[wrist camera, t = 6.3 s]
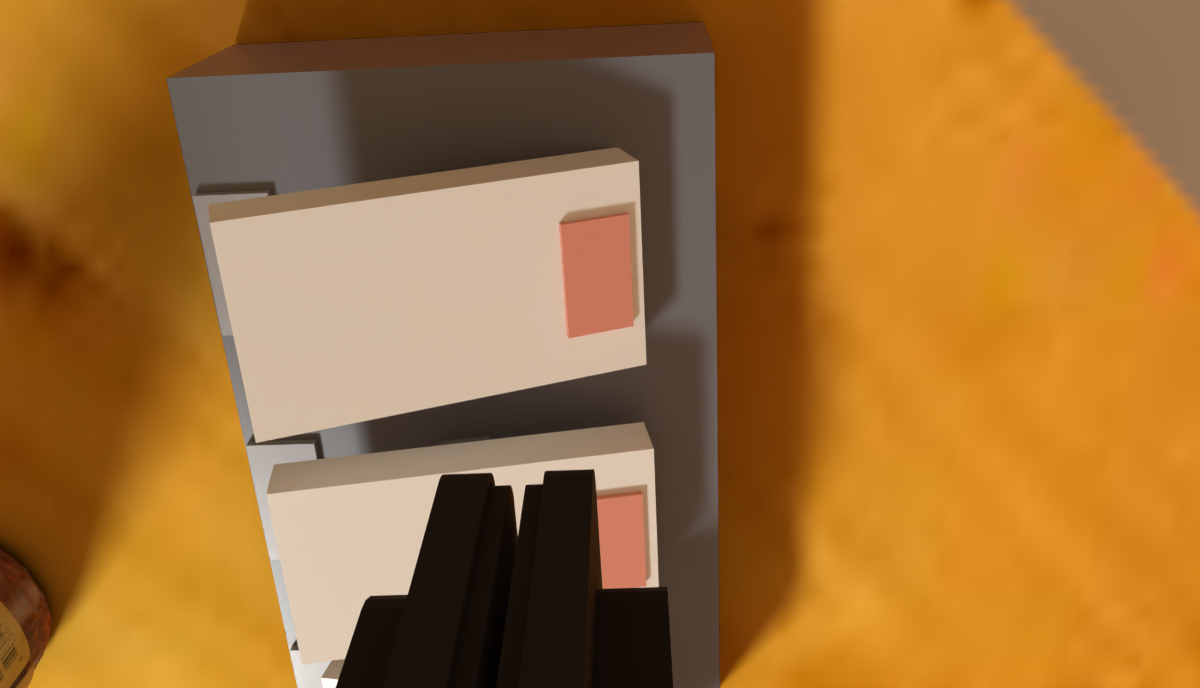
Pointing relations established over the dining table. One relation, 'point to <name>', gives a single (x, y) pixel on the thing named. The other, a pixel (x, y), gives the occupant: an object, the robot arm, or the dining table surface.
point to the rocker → (432, 288)
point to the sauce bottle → (20, 623)
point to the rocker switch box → (485, 137)
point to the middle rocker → (403, 504)
